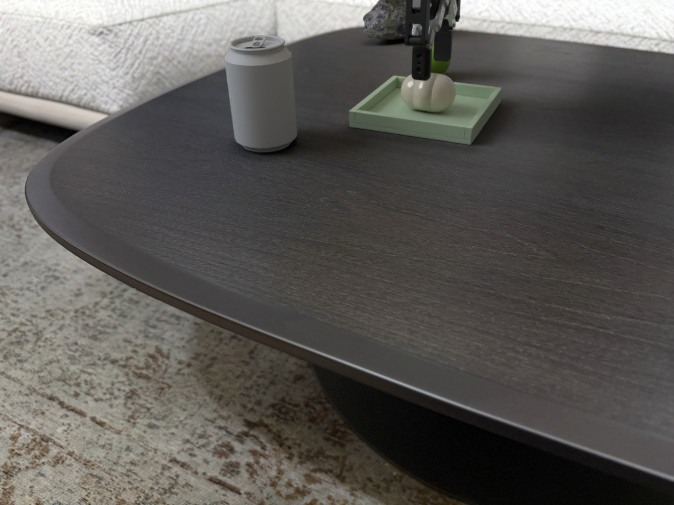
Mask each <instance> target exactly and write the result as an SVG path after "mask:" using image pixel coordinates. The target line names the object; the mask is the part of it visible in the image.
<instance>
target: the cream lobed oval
mask: <svg viewBox="0 0 674 505" xmlns="http://www.w3.org/2000/svg"><path fill="white" fill-rule="evenodd" d="M405 77H406V78H405V80H404V81H403V83H402V85H401V98H402V100H403V102H404V103H405V104H406V105H407V106H408V107H410V108H412V109H414V110H421V111H428V112H442V111H445V110H446V109H448V108H449V107H450V106H451V105H452V104H453V102H454V100H455V97H456V87H455V84H454V83H453V82H454V81H453V80H452V78H450V77H449V76H448V75H446V74H445V73H444V74H438V73H431V77H430V78H429V79H428V80H427V81H421V80H414V79H413V78H412V73H410V74H409V75H407V76H405Z"/></svg>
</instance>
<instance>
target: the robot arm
mask: <svg viewBox="0 0 674 505" xmlns="http://www.w3.org/2000/svg"><path fill="white" fill-rule="evenodd" d="M461 3H462V2H461V0H406V18H405V37H404V38H403V39H404V40H403V42H404V46H405V47H409V48H410V49H412V50H411V74H412V78H413V79H414V80H421V81H427V80H428V79H429V78H430V77H431V63H432V46H433V41H434V54H433V58H434V60H435V61H442V62H448V61H449V60H450V59H451V60H452V52H453V36H454V31H455V29H456V28H457V27H456V26H457V23H459V22H460V19H461ZM412 27H413V30H412ZM421 30H422V33H421V36H419V32H420V31H421Z"/></svg>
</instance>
